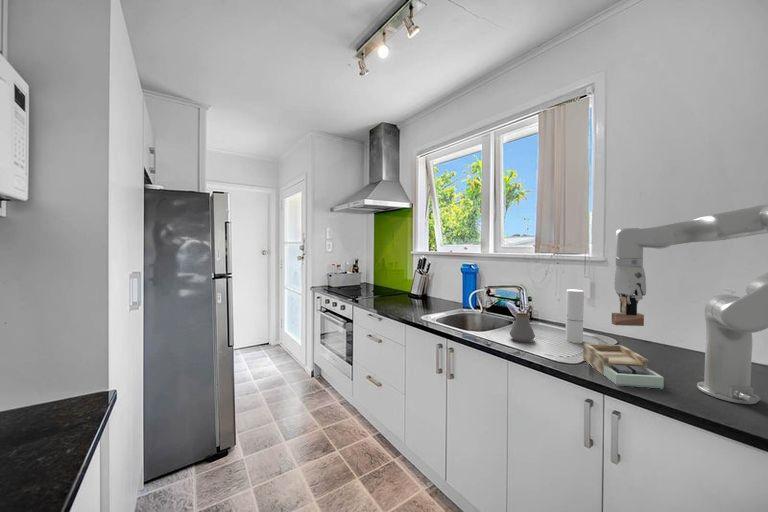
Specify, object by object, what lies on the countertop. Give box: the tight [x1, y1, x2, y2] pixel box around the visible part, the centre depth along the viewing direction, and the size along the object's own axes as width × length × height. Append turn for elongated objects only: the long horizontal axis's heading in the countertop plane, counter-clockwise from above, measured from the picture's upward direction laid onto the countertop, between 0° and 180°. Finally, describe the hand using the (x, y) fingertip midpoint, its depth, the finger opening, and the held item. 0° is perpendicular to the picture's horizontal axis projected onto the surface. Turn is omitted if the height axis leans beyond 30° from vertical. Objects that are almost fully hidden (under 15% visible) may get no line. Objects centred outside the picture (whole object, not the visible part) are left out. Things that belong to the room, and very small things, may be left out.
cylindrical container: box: [565, 288, 585, 344], centre depth 145 cm, size 7×7×25 cm
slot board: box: [582, 342, 649, 375], centre depth 113 cm, size 15×14×7 cm
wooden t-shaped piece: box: [611, 297, 645, 327], centre depth 106 cm, size 2×9×10 cm, turn 81°
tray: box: [603, 366, 665, 390], centre depth 102 cm, size 8×14×4 cm, turn 80°
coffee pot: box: [509, 305, 536, 343], centre depth 151 cm, size 21×12×15 cm, turn 139°
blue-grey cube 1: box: [629, 366, 650, 375], centre depth 103 cm, size 4×4×4 cm
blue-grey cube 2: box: [612, 365, 632, 374], centre depth 104 cm, size 4×4×4 cm
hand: (628, 313), depth 106 cm, fingers closed on wooden t-shaped piece, 2 cm apart
